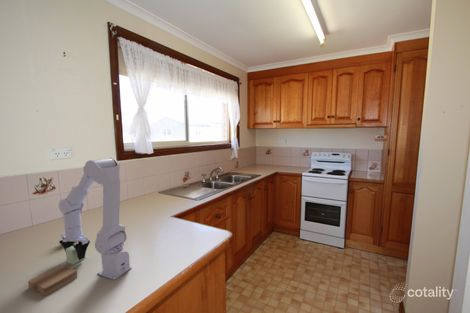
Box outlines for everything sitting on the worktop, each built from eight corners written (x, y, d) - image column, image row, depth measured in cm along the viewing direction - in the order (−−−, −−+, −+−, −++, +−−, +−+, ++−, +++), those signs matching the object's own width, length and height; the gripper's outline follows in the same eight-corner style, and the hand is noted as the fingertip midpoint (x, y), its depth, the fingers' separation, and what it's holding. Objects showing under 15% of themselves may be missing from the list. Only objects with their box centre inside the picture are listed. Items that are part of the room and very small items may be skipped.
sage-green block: (85, 258, 94) (84, 245, 94) (73, 264, 90) (71, 251, 89) (79, 256, 96) (78, 243, 95) (66, 262, 91) (65, 249, 90)
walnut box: (77, 278, 82) (76, 270, 81) (46, 297, 73) (45, 288, 72) (60, 272, 86) (60, 265, 85) (29, 289, 76) (28, 281, 76)
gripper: (51, 226, 90) (54, 257, 92) (74, 233, 85) (77, 265, 86) (70, 220, 97) (72, 249, 98) (92, 225, 91) (94, 256, 93)
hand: (75, 256), depth 92 cm, fingers open, 7 cm apart
